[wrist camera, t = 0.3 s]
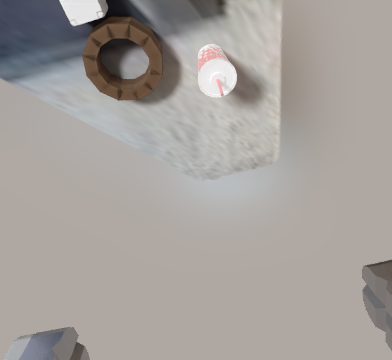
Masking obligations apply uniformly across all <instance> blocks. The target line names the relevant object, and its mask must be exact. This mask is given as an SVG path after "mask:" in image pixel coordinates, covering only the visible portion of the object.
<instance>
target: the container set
mask: <svg viewBox="0 0 392 360" xmlns="http://www.w3.org/2000/svg"><path fill="white" fill-rule="evenodd" d="M59 1H60V3H61V5H62V7H63V9H64V11H65V13H66V15H67V17H68V19H69V21H70V20H71V21H70V23H71V24H72V25H73V26H77V25H80V24H83V23H86V22H89V21H93V20H96V19H99V18H102V17H104V16H105V14H106V12H107V10H108V5H107V3H106V0H59Z"/></svg>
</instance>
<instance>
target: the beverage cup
mask: <svg viewBox="0 0 392 360" xmlns="http://www.w3.org/2000/svg"><path fill="white" fill-rule="evenodd" d="M198 67H199V73H198V84H199V86H200V89H201V91H202V92H204V93H205V94H206V95H208V96H210V97H222V96H225V95H227V94H228V93H229V92H231V91H232V90H233V88H234V86H235V84H236V81H237V73H236V70H235V68H234V66H233V65H232V64H231V63H230V62H229V61H228V59H227V57H226V56H225V54H224V52H223V51H222V49H221V48H220V47H219V46H217V45H215V44H208V45H206V46H204V47H203V48H202V49H201V50H200V52H199V54H198Z"/></svg>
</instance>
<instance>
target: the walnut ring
mask: <svg viewBox="0 0 392 360" xmlns="http://www.w3.org/2000/svg"><path fill="white" fill-rule="evenodd" d="M112 38H128V39H130V40H131V41H133V42H135V43H137V44H139V45H140V46H141V47H142V48H143V50H144V51H145V53H146V54H147V56H148V57H149V63H150V65H149V67H148V69H147V71H146V73H145V74H143V75H141V76H140V77H138V78H136V79H120V78H118V77H116V76H114V75H112V74H110V73H109V71H108V70H107V69H106V67H105V66H104V65H103V64H102V61H101V55H100V47H101V46H102V45H103V44H105V43H106V42H108V41H109V40H111V39H112ZM82 57H83V61H84V66H85V70H86V75H87V77H88V78H89V79H90V80H91V82H92V83H93V84H94V85H95V86H96V87H97V89H98V90H99V91H100V92H102V93H104V94H106V95H108V96H110V97H112V98H115V99H117V100H139V99H140V98H142V97H144V96H146V95H147V94H149V93H151V92H153V91H154V89H155V88H156V86H157V84H158V82H159V80H160V78H161V76H162V75H163V66H162V47H161V44H160V43H159V41H158V39H157V38H156V36H155V35H154V33H153V31H152V30H151V28H150V27H148V26H146V25H145V24H143V23H141V22H139V21H138V20H136V19H134V18H133V17H109V18H107V19H106V20H104V21H103V22H101V23H100V24H98V25H97V26H96V27H94V28H93V29H92V31H91V33H90V35H89V38H88V41H87V44H86V47H85V49H84V52H83V55H82Z"/></svg>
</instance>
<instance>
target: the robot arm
mask: <svg viewBox="0 0 392 360" xmlns="http://www.w3.org/2000/svg"><path fill="white" fill-rule="evenodd" d="M362 278H363V279H364V281H365V282H366V283H367V285H366V286H365V287H364V289H363V301H364V304H365V307H366V310H367V312H368V314H369V316H370V318H371V320H372V321H373V323H374V325H375V326H376V327H378V328H379V329H381V330H383V331H385V332H386V342H387V344H388V346H389V347H390V349H391V350H392V260H388V261H384V262H379V263H375V264H370V265H365V266H364V267H363V269H362ZM77 338H78V334H77V332H76V331H75V329H74V328H73V327H72V328H71V327H67V328H61V329H56V330H50V331H45V332H39V333H36V334H30V335H24V336H20V337H19V338H17V339H16V340H15V341H14V343H13V344H12V346H11V348H10V349H9V351H8V353H7V355H6V356H5V358H4V360H90V359H89V355H88V352H87V350H86V348H85V346H83V345H81V344H80V343H78V342H76V341H77Z"/></svg>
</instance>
